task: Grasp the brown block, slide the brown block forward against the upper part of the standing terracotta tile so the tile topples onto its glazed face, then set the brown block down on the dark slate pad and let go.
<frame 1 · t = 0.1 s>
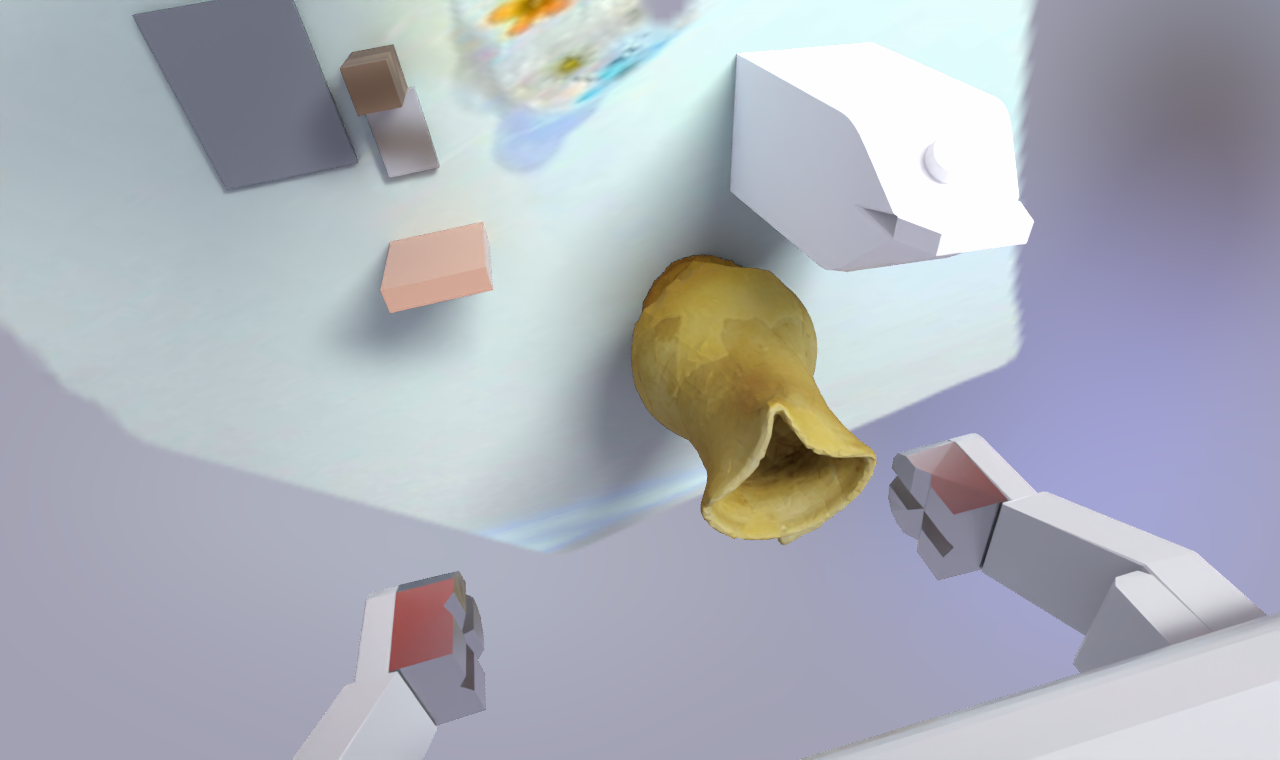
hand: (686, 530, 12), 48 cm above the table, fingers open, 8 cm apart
brown block: (380, 70, 48), on the table
milk: (797, 119, 58), on the table
tile: (440, 242, 57), on the table
pad: (256, 94, 47), on the table
pitcher: (694, 318, 68), on the table
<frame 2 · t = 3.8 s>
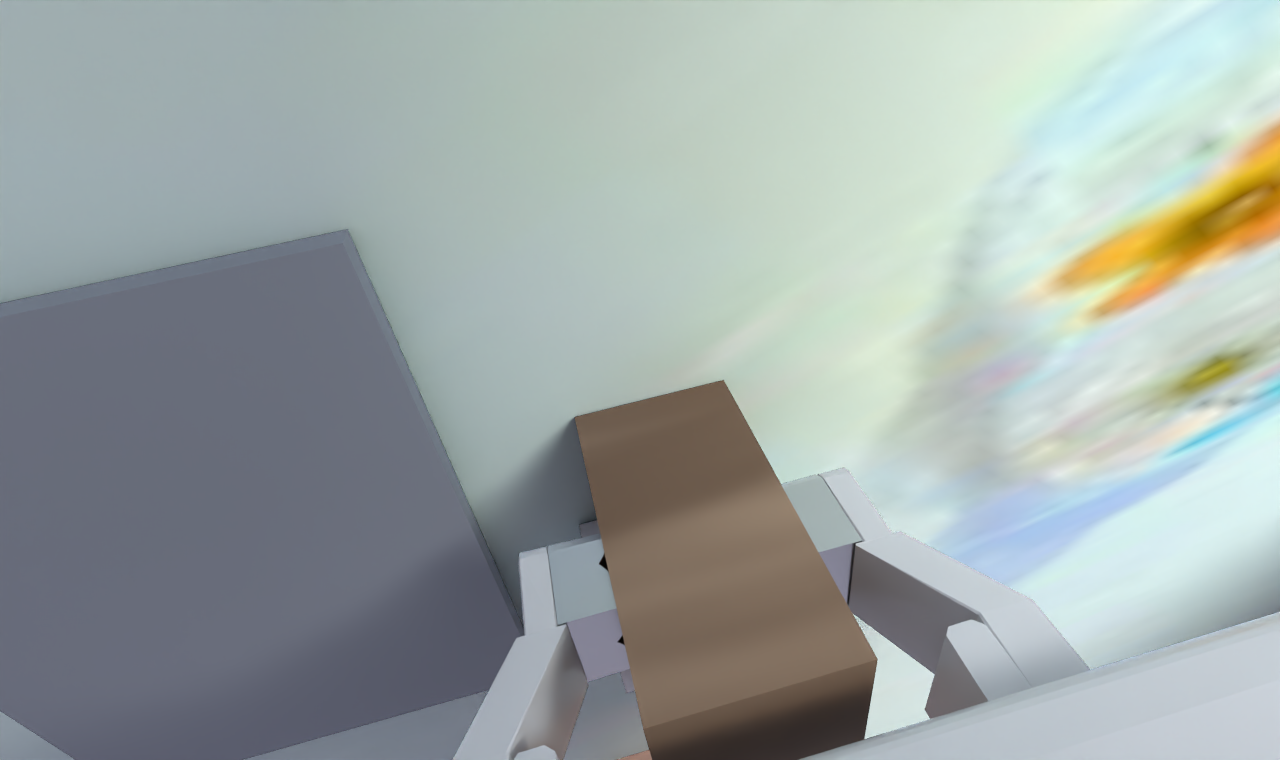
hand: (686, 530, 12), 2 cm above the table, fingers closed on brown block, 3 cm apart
brown block: (658, 453, 14), on the table, touching gripper
pad: (214, 567, 13), on the table
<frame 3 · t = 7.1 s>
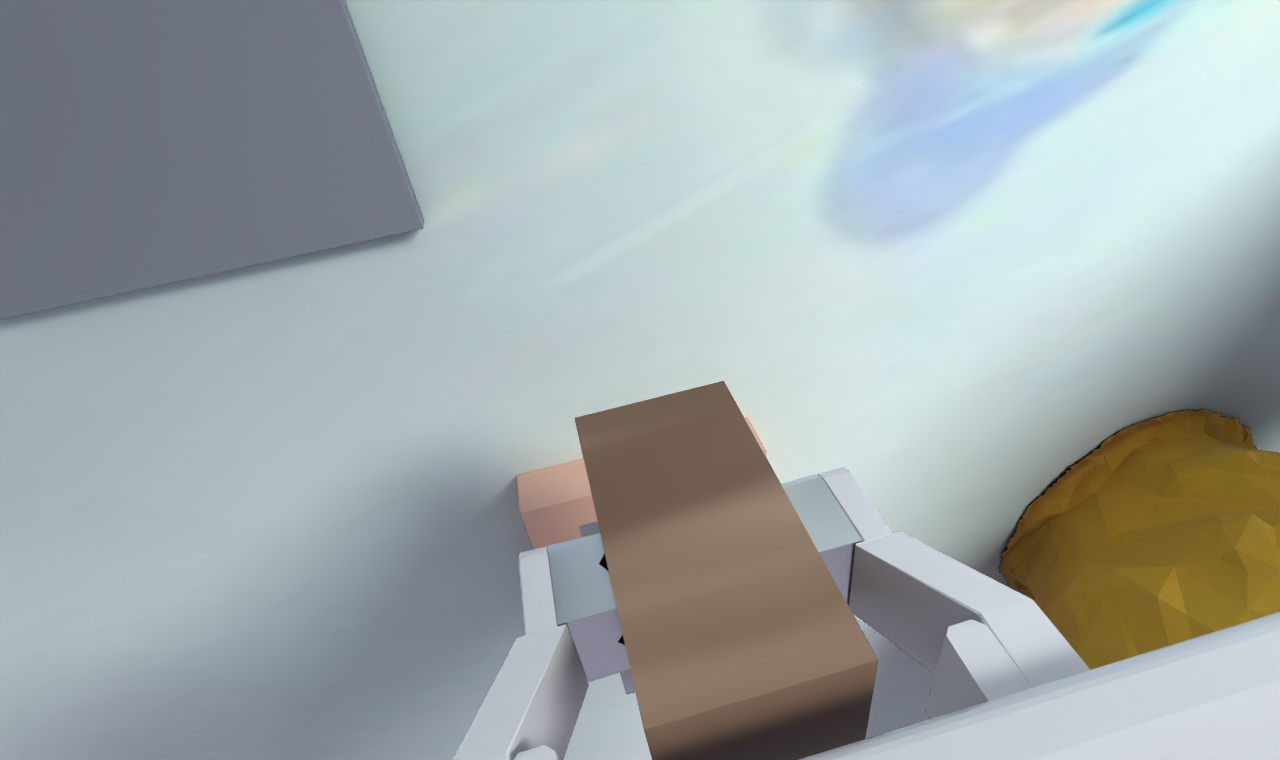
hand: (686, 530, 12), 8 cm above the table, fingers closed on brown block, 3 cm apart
brown block: (658, 454, 14), point 6 cm above the table, touching gripper
tile: (638, 459, 21), point 1 cm above the table, tilted 90°
pitcher: (1103, 522, 32), on the table
when the fingers open (3 cm above the table, at t = 12.1 s): brown block stays where it is, resting on pad.
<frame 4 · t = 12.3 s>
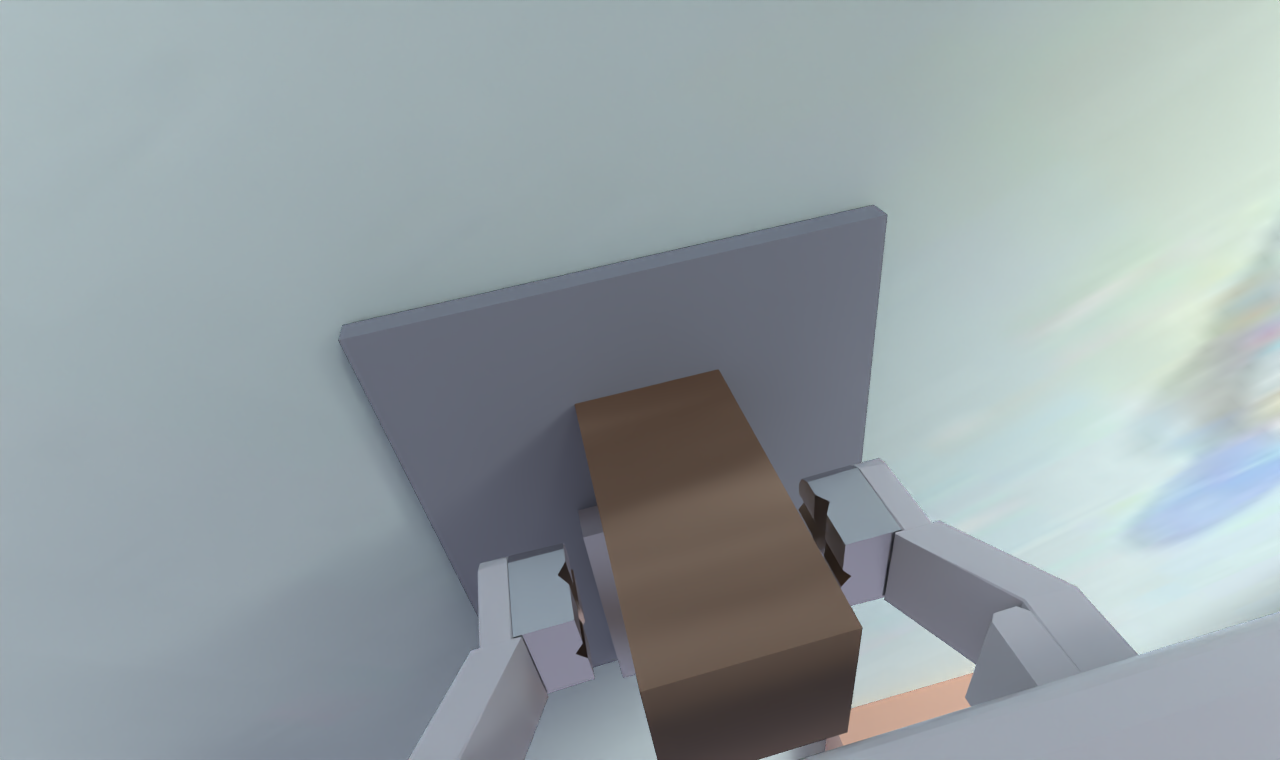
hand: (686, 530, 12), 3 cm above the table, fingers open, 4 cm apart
brown block: (655, 440, 14), resting on pad
tile: (935, 704, 25), point 1 cm above the table, tilted 90°
pad: (656, 486, 16), on the table
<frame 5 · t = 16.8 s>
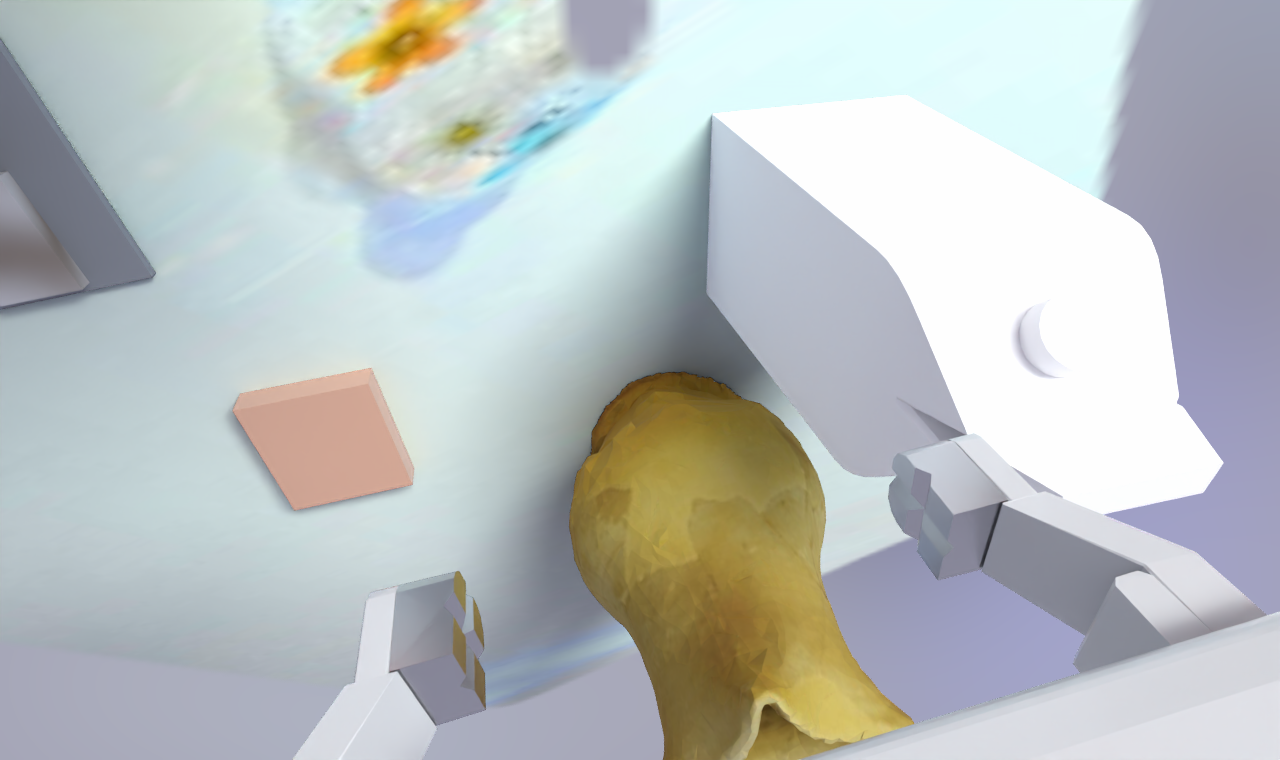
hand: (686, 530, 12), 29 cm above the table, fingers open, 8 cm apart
milk: (798, 199, 41), on the table
tile: (304, 387, 40), point 1 cm above the table, tilted 90°
pitcher: (662, 445, 51), on the table
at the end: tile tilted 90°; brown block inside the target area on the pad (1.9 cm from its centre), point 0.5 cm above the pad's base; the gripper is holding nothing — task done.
